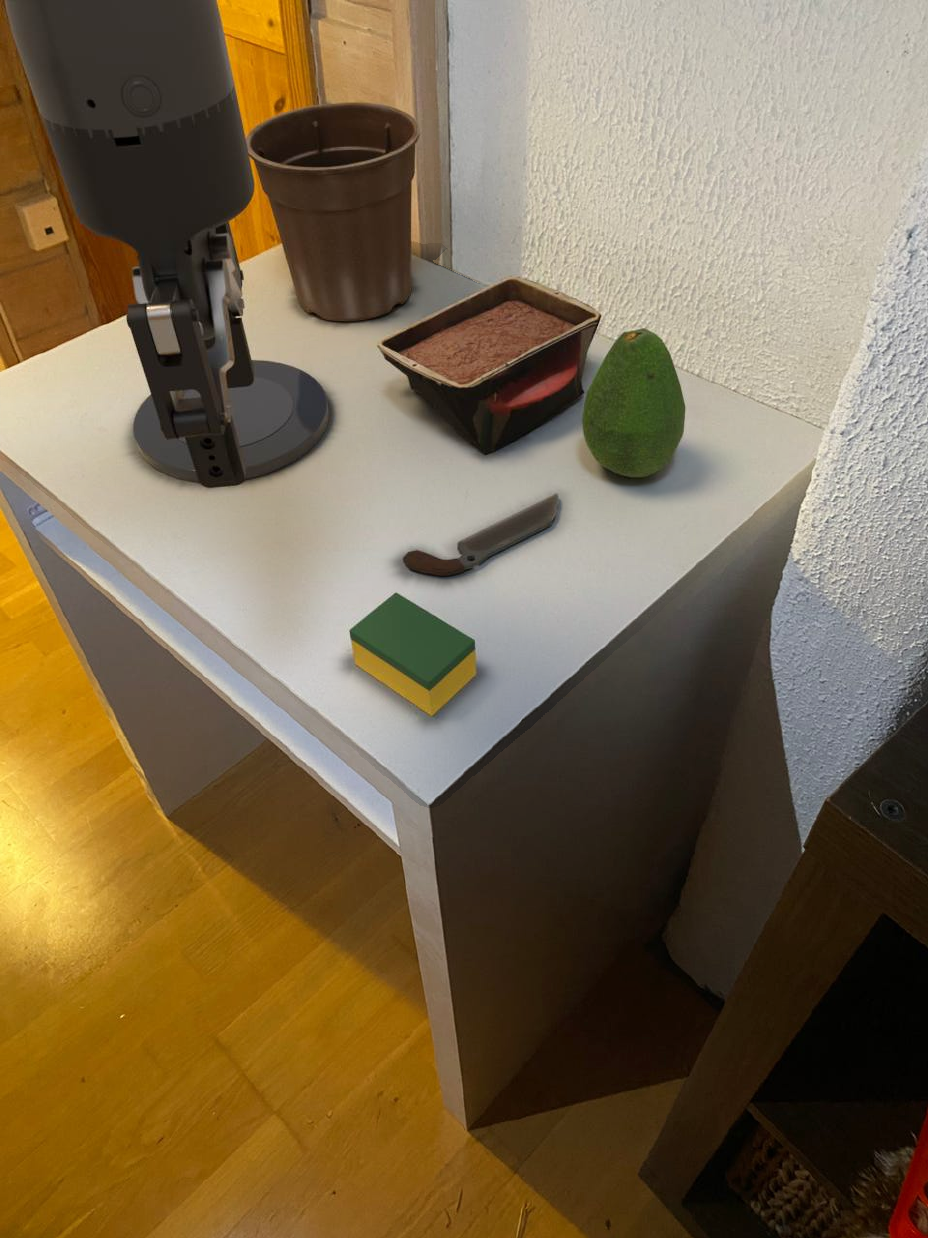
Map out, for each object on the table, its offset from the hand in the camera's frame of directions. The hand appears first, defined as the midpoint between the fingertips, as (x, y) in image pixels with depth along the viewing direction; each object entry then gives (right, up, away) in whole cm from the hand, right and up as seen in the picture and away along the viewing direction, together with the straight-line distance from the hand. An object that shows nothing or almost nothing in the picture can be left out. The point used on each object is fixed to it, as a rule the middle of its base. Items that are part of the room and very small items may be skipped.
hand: (230, 430), depth 48 cm
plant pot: (0, +24, +50) cm, 56 cm away
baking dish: (+15, +10, +36) cm, 40 cm away
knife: (+14, -4, +23) cm, 27 cm away
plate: (-8, +8, +35) cm, 36 cm away
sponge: (+9, -13, +14) cm, 21 cm away
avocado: (+26, +3, +29) cm, 38 cm away
